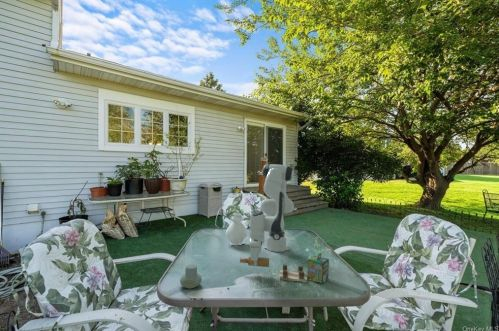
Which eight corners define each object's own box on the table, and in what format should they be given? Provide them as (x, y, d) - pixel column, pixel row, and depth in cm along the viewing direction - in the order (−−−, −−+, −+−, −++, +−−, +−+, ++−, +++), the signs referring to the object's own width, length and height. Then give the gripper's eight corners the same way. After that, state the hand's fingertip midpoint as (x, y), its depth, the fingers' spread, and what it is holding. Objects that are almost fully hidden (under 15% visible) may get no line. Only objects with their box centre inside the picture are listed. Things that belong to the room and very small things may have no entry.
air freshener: (202, 282, 134) (203, 263, 134) (200, 289, 125) (200, 269, 126) (182, 282, 133) (182, 263, 133) (178, 289, 125) (178, 269, 125)
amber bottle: (241, 257, 151) (240, 254, 147) (269, 259, 149) (269, 256, 145) (240, 266, 148) (239, 263, 144) (268, 268, 146) (268, 265, 142)
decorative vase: (247, 247, 196) (247, 215, 197) (224, 247, 196) (225, 215, 197) (247, 241, 214) (248, 212, 214) (227, 240, 214) (227, 211, 215)
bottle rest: (279, 272, 149) (280, 264, 149) (305, 274, 147) (305, 265, 147) (279, 280, 138) (279, 271, 138) (307, 282, 136) (307, 273, 136)
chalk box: (313, 274, 147) (314, 249, 147) (329, 279, 141) (329, 252, 142) (306, 279, 140) (307, 253, 140) (322, 284, 134) (322, 257, 134)
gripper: (253, 234, 157) (253, 256, 157) (248, 244, 137) (248, 269, 137) (263, 234, 156) (263, 256, 156) (260, 245, 136) (259, 270, 136)
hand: (256, 262), depth 146 cm, fingers closed on amber bottle, 5 cm apart
